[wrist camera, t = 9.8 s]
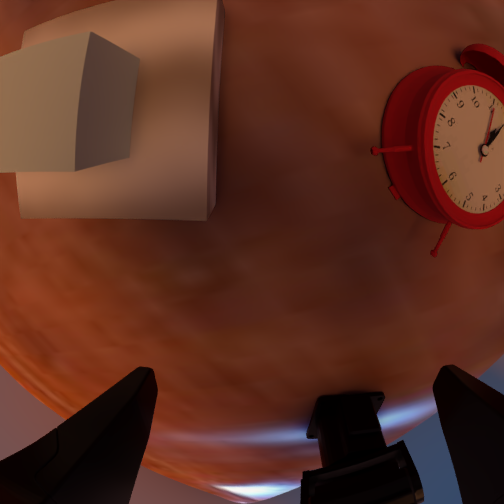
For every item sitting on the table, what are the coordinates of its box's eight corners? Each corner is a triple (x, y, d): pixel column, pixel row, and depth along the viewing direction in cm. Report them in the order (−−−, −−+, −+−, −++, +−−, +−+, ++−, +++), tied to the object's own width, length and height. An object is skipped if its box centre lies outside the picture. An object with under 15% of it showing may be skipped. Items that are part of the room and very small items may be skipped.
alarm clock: (350, 131, 13) (535, 13, 6) (337, 119, 18) (486, 22, 11) (442, 284, 16) (591, 165, 9) (415, 235, 21) (542, 141, 14)
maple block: (216, 202, 18) (206, 221, 14) (54, 202, 18) (20, 218, 14) (225, 14, 14) (218, -14, 10) (57, 41, 14) (24, 31, 10)
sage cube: (129, 157, 13) (74, 171, 9) (51, 157, 13) (-12, 173, 8) (140, 59, 11) (90, 31, 7) (58, 69, 11) (-3, 57, 7)
